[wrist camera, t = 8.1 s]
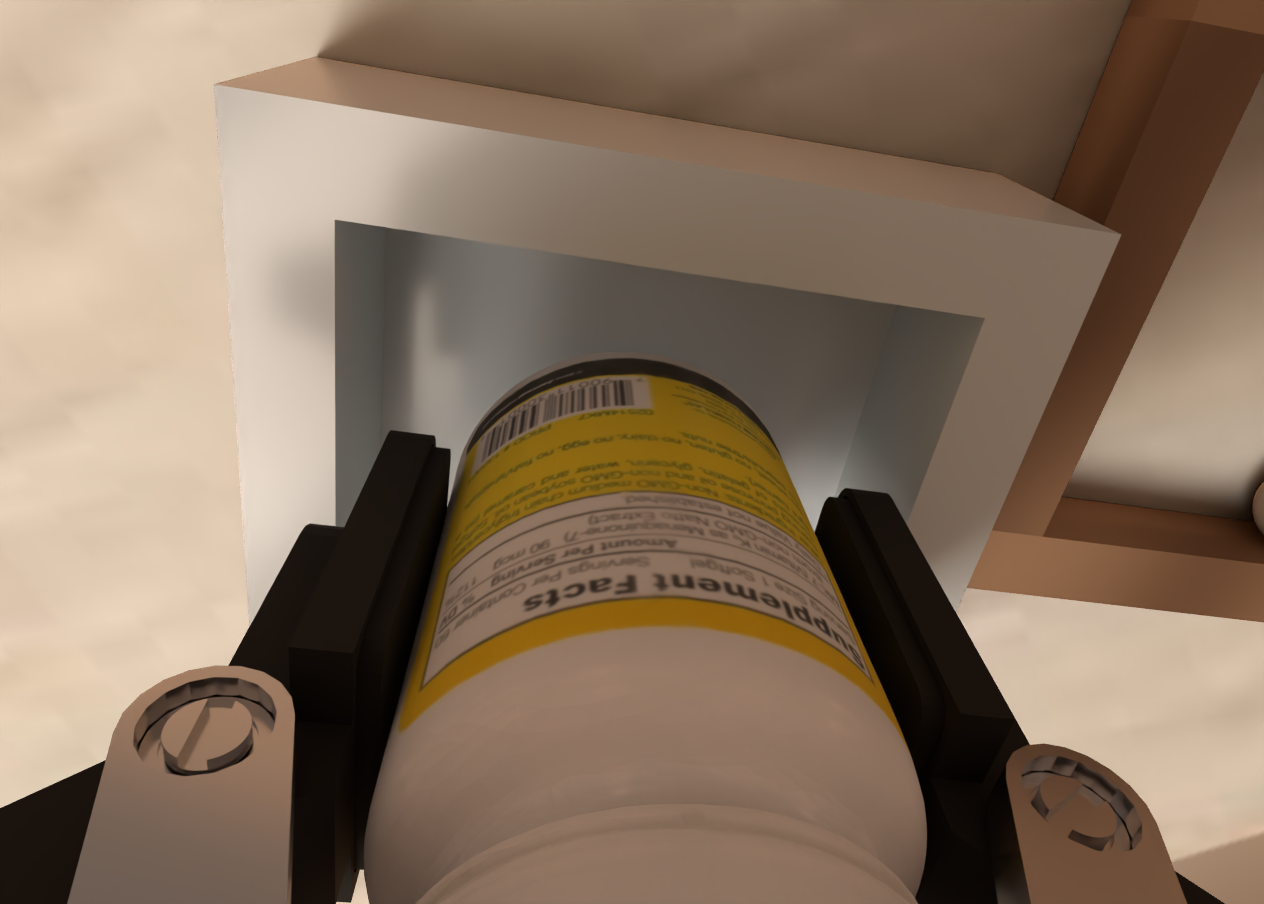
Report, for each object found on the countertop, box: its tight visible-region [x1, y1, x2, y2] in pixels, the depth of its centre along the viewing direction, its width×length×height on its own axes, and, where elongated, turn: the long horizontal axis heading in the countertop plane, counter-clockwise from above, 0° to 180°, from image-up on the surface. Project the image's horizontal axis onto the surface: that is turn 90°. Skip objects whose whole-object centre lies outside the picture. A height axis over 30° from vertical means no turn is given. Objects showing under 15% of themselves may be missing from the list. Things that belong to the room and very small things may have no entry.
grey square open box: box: [214, 57, 1121, 627], centre depth 13 cm, size 10×10×4 cm
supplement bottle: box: [364, 352, 927, 904], centre depth 9 cm, size 5×5×8 cm
